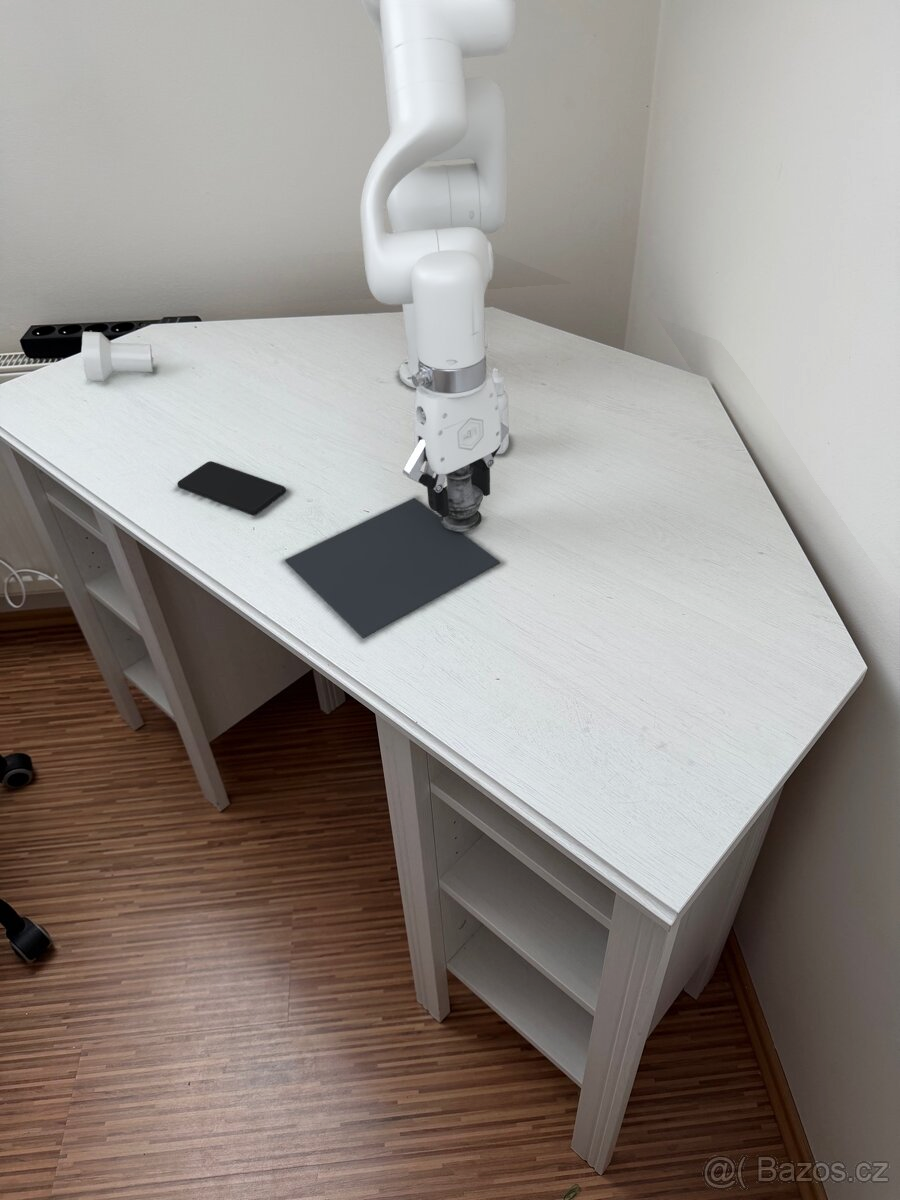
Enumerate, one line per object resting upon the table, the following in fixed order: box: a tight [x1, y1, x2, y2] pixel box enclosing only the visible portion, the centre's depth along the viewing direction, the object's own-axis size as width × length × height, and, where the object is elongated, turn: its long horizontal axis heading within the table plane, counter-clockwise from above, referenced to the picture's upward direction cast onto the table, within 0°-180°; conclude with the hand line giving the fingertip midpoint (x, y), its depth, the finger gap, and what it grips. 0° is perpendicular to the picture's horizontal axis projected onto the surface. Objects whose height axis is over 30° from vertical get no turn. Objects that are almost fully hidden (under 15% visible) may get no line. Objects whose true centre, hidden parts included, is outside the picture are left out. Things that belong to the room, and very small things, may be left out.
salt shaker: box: [440, 464, 484, 533], centre depth 103 cm, size 6×6×12 cm
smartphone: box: [177, 460, 287, 516], centre depth 117 cm, size 7×1×15 cm
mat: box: [284, 497, 501, 639], centre depth 103 cm, size 20×18×1 cm
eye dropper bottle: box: [491, 367, 510, 455], centre depth 118 cm, size 4×6×12 cm
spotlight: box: [80, 331, 154, 382], centre depth 143 cm, size 8×11×8 cm
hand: (460, 500), depth 105 cm, fingers closed on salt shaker, 5 cm apart
